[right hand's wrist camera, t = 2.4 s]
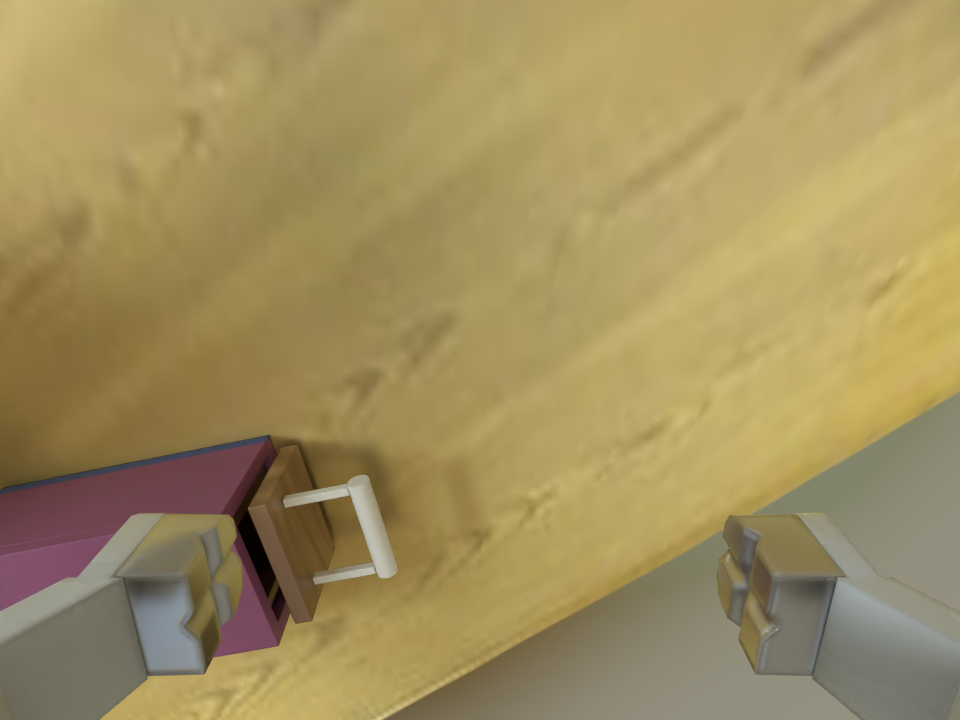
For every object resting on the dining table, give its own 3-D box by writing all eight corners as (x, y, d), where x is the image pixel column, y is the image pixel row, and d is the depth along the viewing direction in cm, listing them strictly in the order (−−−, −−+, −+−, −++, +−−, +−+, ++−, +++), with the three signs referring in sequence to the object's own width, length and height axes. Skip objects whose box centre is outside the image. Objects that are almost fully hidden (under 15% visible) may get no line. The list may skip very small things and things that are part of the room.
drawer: (375, 428, 44) (358, 487, 38) (408, 534, 48) (397, 606, 41) (43, 493, 46) (-32, 561, 39) (97, 591, 49) (36, 670, 43)
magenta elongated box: (269, 435, 46) (221, 513, 37) (313, 550, 50) (279, 646, 41) (3, 487, 47) (-105, 575, 38) (65, 596, 51) (-19, 698, 42)
